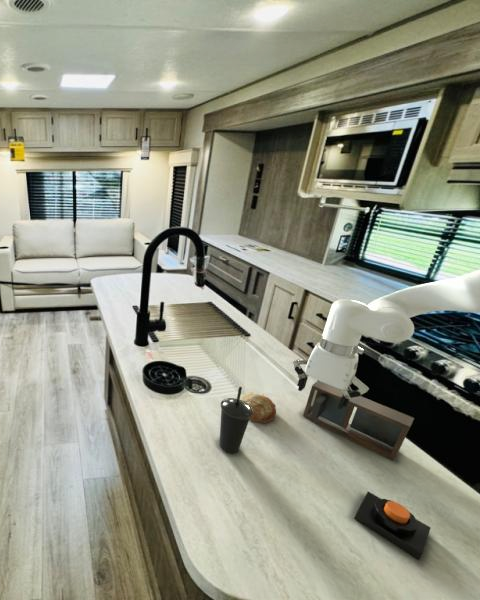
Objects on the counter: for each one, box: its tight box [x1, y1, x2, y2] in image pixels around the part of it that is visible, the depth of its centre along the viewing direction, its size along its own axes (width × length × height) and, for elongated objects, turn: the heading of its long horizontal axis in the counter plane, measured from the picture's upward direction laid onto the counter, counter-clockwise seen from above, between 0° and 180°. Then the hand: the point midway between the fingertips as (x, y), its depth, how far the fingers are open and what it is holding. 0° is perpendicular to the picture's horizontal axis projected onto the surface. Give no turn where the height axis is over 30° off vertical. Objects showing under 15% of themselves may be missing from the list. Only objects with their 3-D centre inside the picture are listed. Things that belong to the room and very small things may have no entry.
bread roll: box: [240, 392, 277, 424], centre depth 98 cm, size 10×10×8 cm
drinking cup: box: [219, 386, 253, 455], centre depth 83 cm, size 8×8×20 cm
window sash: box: [310, 391, 355, 429], centre depth 90 cm, size 9×7×8 cm
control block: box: [353, 491, 432, 561], centre depth 65 cm, size 10×8×4 cm
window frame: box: [302, 380, 415, 462], centre depth 88 cm, size 21×5×12 cm, turn 36°
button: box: [384, 500, 411, 524], centre depth 65 cm, size 4×4×2 cm
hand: (320, 397), depth 89 cm, fingers open, 9 cm apart
